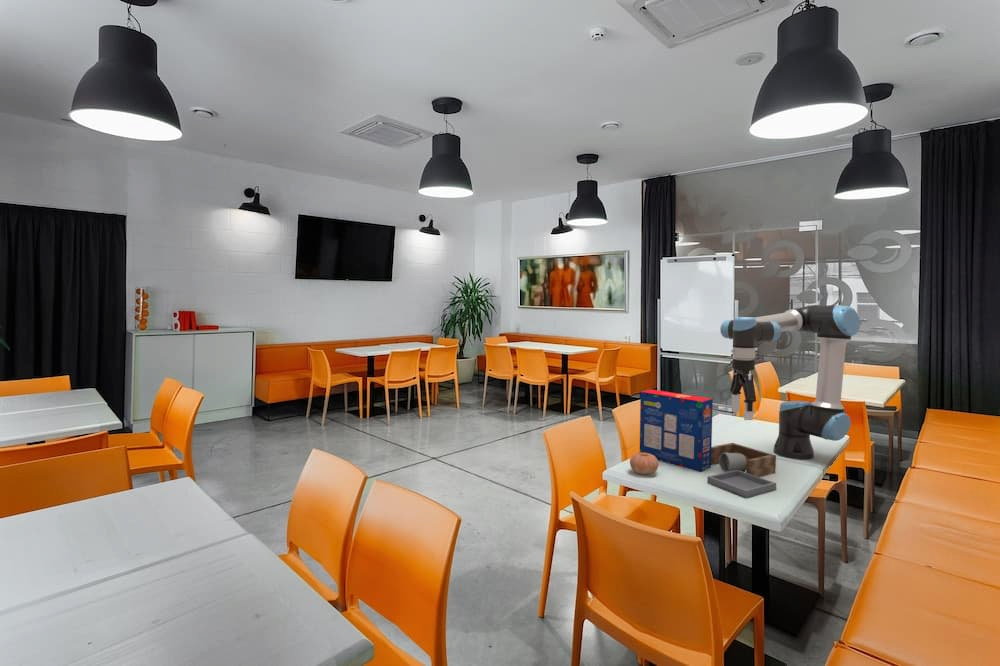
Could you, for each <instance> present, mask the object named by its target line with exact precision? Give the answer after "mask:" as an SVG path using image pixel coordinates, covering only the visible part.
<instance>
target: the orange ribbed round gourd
mask: <svg viewBox="0 0 1000 666" xmlns="http://www.w3.org/2000/svg"><path fill="white" fill-rule="evenodd" d="M629 465H630V468H631V469H632V471H634V472H635V473H637V474H639V475H645V476H646V475H648V476H649V475H651V474H654V473H655V472H657V470H658V468H659V461H658V460H657V458H656V457H655V456H654V455H652V454H649V453H640V452H637V453H634V454H633V455H632V456H631V457H630V459H629Z"/></svg>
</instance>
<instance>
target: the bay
mask: <svg viewBox="0 0 1000 666" xmlns="http://www.w3.org/2000/svg"><path fill="white" fill-rule="evenodd" d="M722 453H739V454H743V455H744V456H745V457H746V459H747V465H746V471H745V472H746V473H748V474H751V475H754V476H757V477H760V478H763V477H765V476H769V475H774V474H776V470H777V469H776V467H777V466H776V465H777V454H776V455H775V454H772V453H769V452H765V451H763V450H758V449H755V448H752V447H748V446H744V445H741V444H739V443H735V442H729V443H724V444H719V445H714V446H711V466H715V465H720V463H719V459H720V455H721V454H722Z"/></svg>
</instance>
